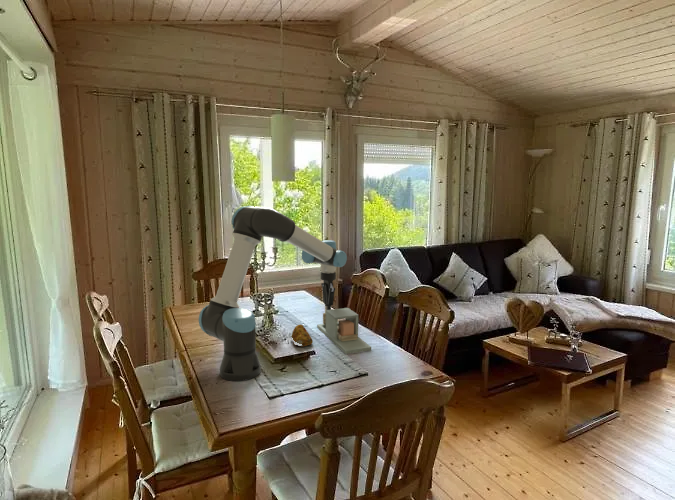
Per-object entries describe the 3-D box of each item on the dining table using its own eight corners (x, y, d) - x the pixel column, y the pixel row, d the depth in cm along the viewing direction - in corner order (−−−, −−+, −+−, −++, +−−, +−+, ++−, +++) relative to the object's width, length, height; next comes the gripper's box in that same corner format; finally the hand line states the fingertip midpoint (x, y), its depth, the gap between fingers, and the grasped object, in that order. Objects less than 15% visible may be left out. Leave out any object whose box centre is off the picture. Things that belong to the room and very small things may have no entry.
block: (353, 336, 191) (354, 323, 190) (343, 337, 189) (343, 324, 188) (348, 332, 196) (348, 319, 195) (338, 333, 194) (338, 320, 193)
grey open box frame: (357, 339, 190) (357, 328, 190) (341, 341, 188) (341, 330, 187) (335, 321, 214) (335, 311, 214) (321, 323, 212) (321, 313, 211)
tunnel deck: (371, 350, 183) (371, 323, 181) (345, 354, 178) (346, 326, 176) (339, 324, 216) (339, 301, 214) (317, 327, 211) (317, 304, 209)
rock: (311, 350, 193) (316, 340, 185) (294, 356, 189) (299, 346, 181) (300, 329, 198) (305, 319, 190) (284, 335, 194) (288, 324, 186)
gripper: (340, 273, 205) (339, 320, 209) (330, 268, 217) (330, 313, 221) (325, 274, 202) (325, 322, 206) (316, 269, 214) (316, 314, 218)
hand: (327, 317), depth 213 cm, fingers closed
